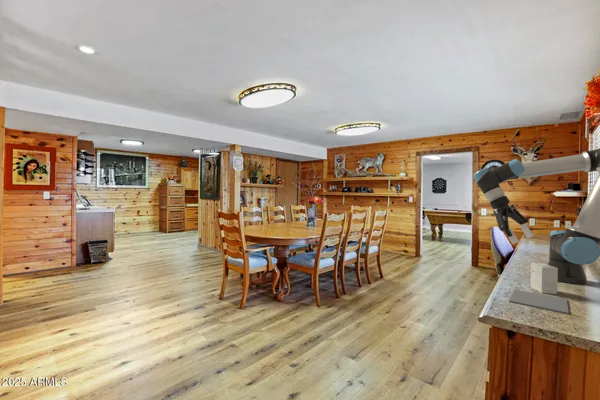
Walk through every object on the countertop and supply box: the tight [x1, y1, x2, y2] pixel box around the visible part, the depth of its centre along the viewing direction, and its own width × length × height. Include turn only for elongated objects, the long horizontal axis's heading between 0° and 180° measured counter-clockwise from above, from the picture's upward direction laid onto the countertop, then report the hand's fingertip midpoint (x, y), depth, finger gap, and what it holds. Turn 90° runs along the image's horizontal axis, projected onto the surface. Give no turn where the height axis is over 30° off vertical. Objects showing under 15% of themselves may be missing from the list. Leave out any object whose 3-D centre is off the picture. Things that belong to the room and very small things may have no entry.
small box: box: [530, 262, 559, 295], centre depth 121 cm, size 8×6×10 cm
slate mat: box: [508, 288, 570, 315], centre depth 108 cm, size 18×16×1 cm
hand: (523, 240), depth 132 cm, fingers open, 13 cm apart
